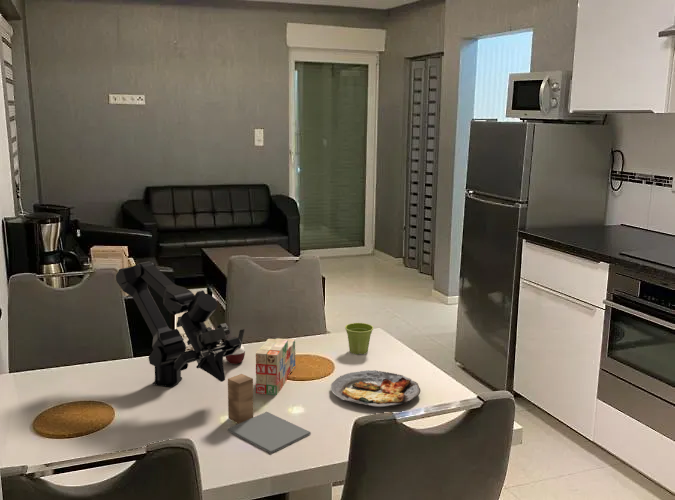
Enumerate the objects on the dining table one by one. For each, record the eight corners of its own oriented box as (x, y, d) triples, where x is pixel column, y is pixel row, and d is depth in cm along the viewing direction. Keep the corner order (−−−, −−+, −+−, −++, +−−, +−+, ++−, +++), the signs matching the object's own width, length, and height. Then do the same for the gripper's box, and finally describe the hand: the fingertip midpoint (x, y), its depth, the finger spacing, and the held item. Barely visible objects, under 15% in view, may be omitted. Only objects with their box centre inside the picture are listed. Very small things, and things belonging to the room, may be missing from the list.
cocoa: (224, 359, 206) (222, 323, 204) (243, 357, 207) (241, 321, 205) (227, 369, 197) (225, 331, 195) (247, 366, 198) (245, 329, 196)
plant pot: (363, 359, 207) (364, 333, 206) (339, 352, 212) (339, 328, 211) (377, 350, 215) (378, 326, 213) (353, 345, 220) (354, 321, 218)
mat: (227, 430, 158) (227, 428, 158) (266, 413, 167) (266, 411, 167) (271, 453, 148) (271, 451, 147) (310, 434, 157) (310, 431, 157)
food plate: (430, 386, 187) (430, 374, 186) (403, 419, 166) (404, 406, 166) (351, 372, 197) (351, 362, 197) (318, 402, 177) (318, 390, 176)
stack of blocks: (276, 365, 200) (276, 328, 198) (295, 367, 199) (296, 330, 197) (255, 393, 180) (255, 352, 177) (277, 395, 179) (277, 354, 176)
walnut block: (228, 418, 164) (227, 378, 162) (241, 413, 168) (241, 373, 165) (239, 424, 161) (239, 383, 159) (253, 418, 165) (252, 378, 162)
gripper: (178, 323, 161) (206, 376, 156) (236, 308, 175) (264, 356, 169) (162, 345, 168) (188, 397, 162) (219, 329, 181) (245, 376, 176)
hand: (223, 380), depth 167 cm, fingers closed
